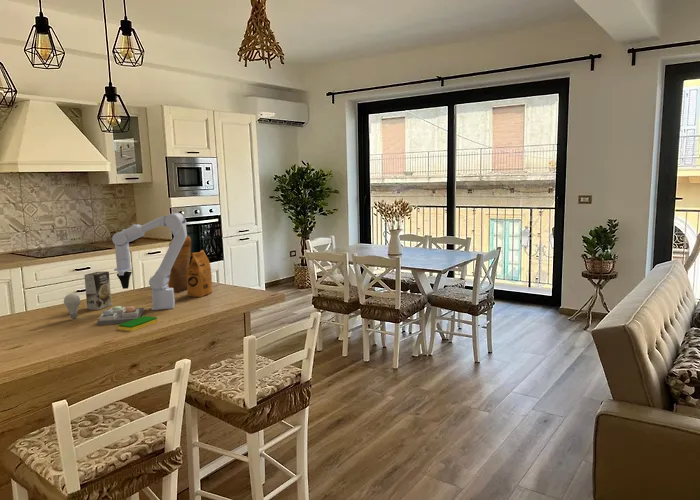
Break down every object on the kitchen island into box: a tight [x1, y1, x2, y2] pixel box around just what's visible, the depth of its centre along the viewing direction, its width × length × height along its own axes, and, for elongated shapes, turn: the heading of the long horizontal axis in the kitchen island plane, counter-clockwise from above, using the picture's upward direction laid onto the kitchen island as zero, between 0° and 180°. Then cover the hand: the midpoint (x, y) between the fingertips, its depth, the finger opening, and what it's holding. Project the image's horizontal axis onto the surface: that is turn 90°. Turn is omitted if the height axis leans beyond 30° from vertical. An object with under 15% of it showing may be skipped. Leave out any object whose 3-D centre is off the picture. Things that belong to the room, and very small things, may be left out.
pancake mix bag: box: [167, 235, 192, 294], centre depth 264 cm, size 7×19×28 cm, turn 157°
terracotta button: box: [125, 305, 136, 313], centre depth 213 cm, size 4×4×2 cm
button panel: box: [96, 306, 145, 326], centre depth 215 cm, size 15×18×3 cm
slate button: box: [102, 309, 113, 317], centre depth 208 cm, size 4×4×2 cm
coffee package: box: [186, 249, 213, 298], centre depth 254 cm, size 10×12×22 cm
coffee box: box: [84, 271, 113, 311], centre depth 233 cm, size 9×6×16 cm
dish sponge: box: [117, 315, 158, 332], centre depth 203 cm, size 7×14×2 cm, turn 157°
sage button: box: [111, 305, 122, 310], centre depth 218 cm, size 4×4×2 cm
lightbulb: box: [63, 293, 81, 320], centre depth 213 cm, size 6×6×11 cm
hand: (125, 288), depth 229 cm, fingers closed
